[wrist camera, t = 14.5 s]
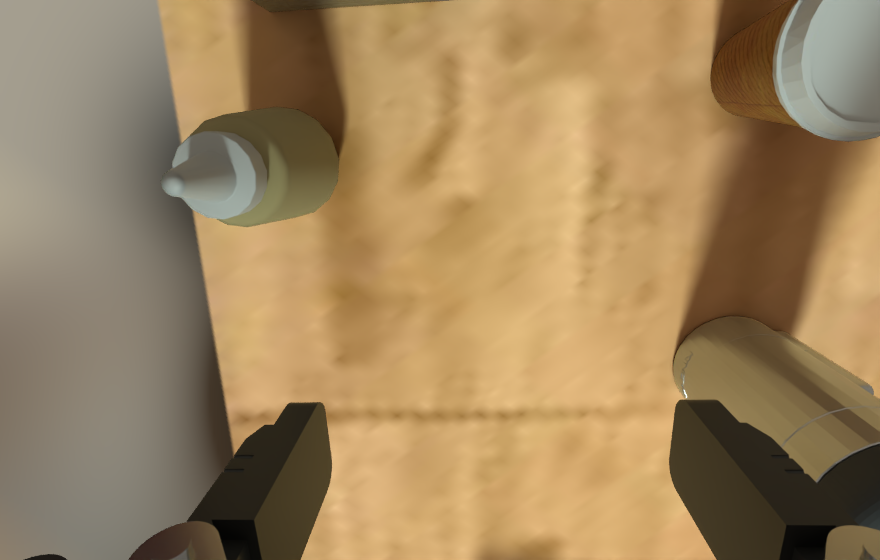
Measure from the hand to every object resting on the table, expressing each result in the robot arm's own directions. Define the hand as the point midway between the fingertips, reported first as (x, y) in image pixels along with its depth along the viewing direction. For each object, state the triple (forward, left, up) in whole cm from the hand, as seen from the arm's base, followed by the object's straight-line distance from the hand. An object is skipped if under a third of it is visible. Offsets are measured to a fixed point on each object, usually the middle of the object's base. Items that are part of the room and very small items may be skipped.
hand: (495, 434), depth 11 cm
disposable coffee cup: (-21, -10, -30) cm, 38 cm away
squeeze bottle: (+14, -5, -30) cm, 34 cm away
